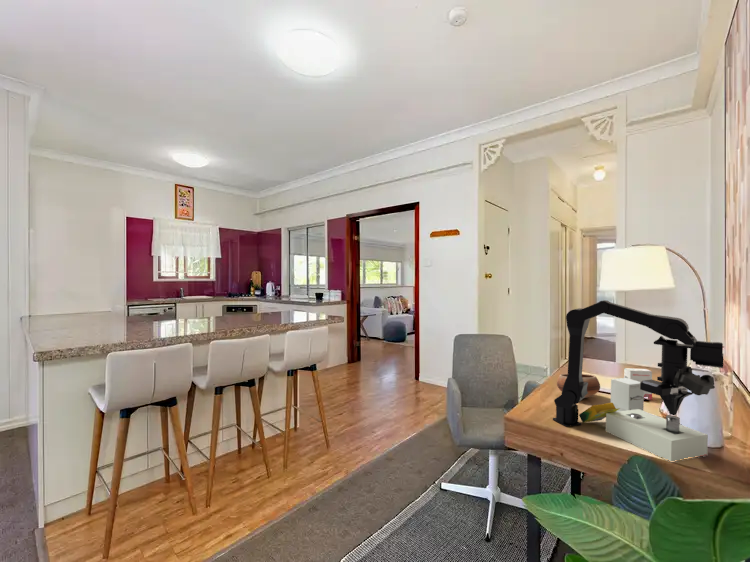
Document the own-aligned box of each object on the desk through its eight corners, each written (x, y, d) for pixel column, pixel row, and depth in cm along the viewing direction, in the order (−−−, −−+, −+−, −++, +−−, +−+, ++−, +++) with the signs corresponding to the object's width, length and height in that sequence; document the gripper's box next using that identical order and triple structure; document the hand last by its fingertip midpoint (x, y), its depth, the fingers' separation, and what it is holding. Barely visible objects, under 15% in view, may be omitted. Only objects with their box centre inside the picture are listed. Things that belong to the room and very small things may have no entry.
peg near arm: (636, 435, 112) (636, 417, 112) (627, 431, 115) (627, 413, 115) (643, 434, 113) (644, 416, 113) (634, 430, 116) (634, 412, 116)
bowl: (577, 389, 159) (578, 367, 158) (609, 402, 144) (609, 377, 143) (548, 392, 155) (548, 369, 154) (577, 405, 139) (578, 380, 139)
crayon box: (597, 411, 126) (616, 400, 117) (601, 420, 124) (621, 409, 115) (577, 414, 125) (596, 402, 116) (582, 423, 123) (600, 411, 114)
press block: (671, 462, 97) (671, 440, 97) (605, 431, 116) (606, 413, 116) (707, 455, 101) (707, 434, 101) (638, 426, 120) (638, 409, 120)
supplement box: (628, 419, 126) (629, 384, 126) (609, 411, 133) (610, 378, 133) (644, 417, 128) (645, 382, 128) (624, 410, 135) (625, 377, 135)
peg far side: (674, 439, 102) (674, 419, 101) (663, 435, 104) (663, 415, 104) (681, 438, 102) (682, 418, 102) (670, 433, 105) (671, 414, 105)
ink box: (644, 395, 151) (645, 368, 151) (652, 400, 146) (653, 371, 146) (622, 395, 152) (623, 367, 152) (630, 399, 147) (630, 370, 147)
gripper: (681, 371, 93) (679, 430, 93) (730, 366, 98) (729, 422, 98) (639, 360, 103) (637, 413, 104) (685, 357, 108) (684, 407, 109)
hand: (672, 414), depth 103 cm, fingers closed
